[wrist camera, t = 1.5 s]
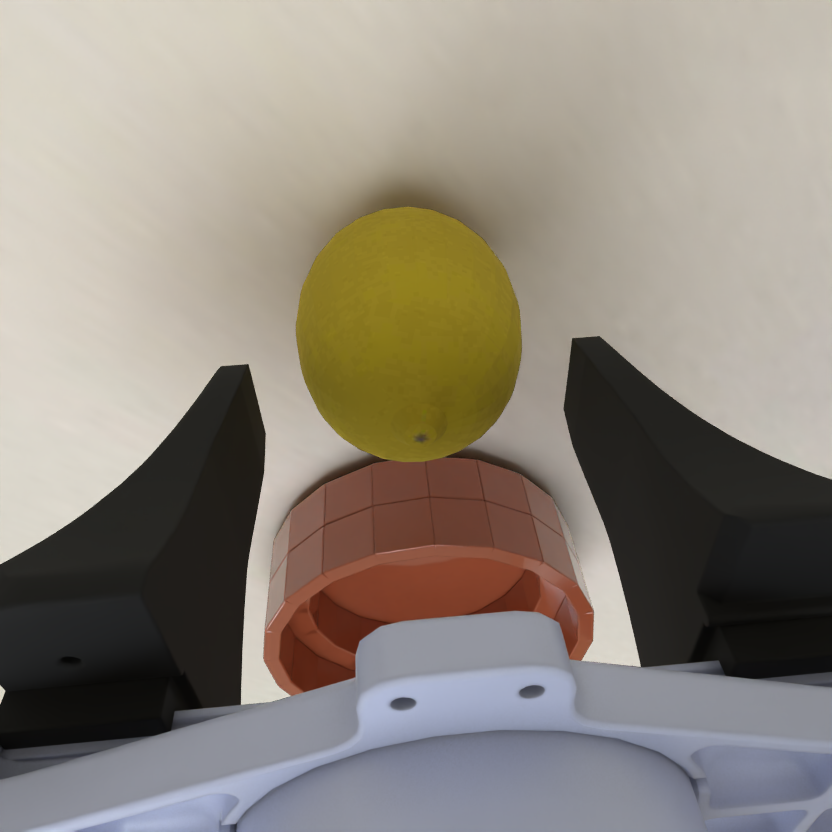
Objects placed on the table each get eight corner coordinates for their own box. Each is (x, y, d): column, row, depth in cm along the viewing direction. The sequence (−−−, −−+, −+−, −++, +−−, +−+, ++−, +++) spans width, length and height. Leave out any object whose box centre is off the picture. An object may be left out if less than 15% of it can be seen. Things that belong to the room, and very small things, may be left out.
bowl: (624, 499, 28) (662, 596, 25) (472, 653, 35) (485, 745, 32) (346, 404, 24) (346, 505, 21) (234, 600, 31) (219, 700, 27)
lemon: (293, 317, 22) (272, 513, 16) (319, 140, 18) (304, 302, 12) (464, 344, 23) (505, 536, 17) (519, 182, 19) (596, 350, 13)
